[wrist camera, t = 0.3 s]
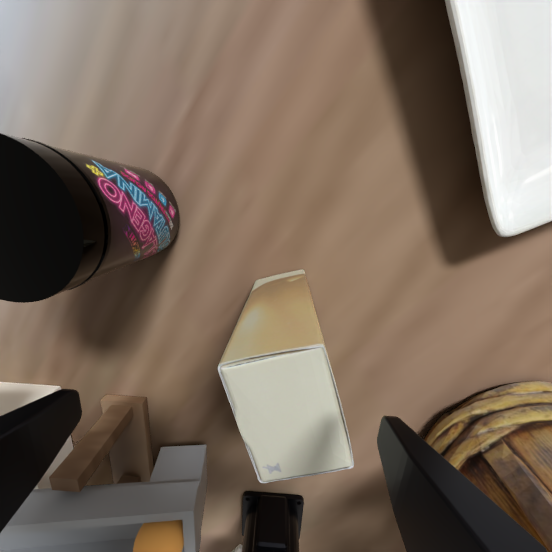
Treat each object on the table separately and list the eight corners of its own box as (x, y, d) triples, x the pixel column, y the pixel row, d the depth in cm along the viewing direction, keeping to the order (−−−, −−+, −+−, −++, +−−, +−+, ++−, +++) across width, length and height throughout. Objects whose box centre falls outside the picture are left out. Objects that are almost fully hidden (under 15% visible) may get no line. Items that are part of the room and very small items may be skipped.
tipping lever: (204, 351, 21) (188, 405, 16) (207, 490, 25) (196, 570, 20) (-47, 354, 19) (-167, 418, 13) (4, 505, 23) (-73, 600, 18)
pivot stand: (146, 397, 25) (90, 476, 18) (155, 480, 28) (110, 577, 21) (105, 394, 25) (33, 472, 18) (118, 478, 28) (61, 573, 21)
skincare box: (320, 333, 22) (359, 476, 11) (272, 343, 23) (260, 492, 11) (303, 263, 21) (328, 343, 9) (252, 276, 21) (212, 368, 10)
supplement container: (155, 271, 21) (41, 332, 11) (83, 220, 20) (-112, 236, 10) (200, 206, 20) (114, 209, 10) (124, 146, 19) (-57, 82, 9)
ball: (188, 524, 21) (183, 583, 18) (142, 533, 21) (128, 597, 17) (186, 494, 20) (181, 550, 17) (138, 502, 20) (122, 563, 16)
